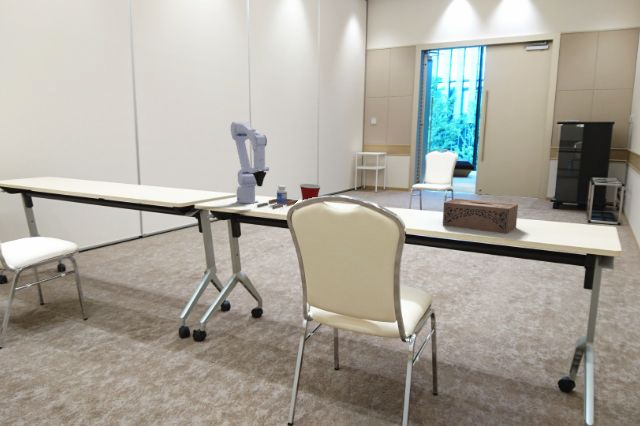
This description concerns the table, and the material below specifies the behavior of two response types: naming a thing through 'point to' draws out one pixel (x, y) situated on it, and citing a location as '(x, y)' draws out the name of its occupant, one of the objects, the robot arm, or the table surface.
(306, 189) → the plastic cup
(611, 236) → the table surface
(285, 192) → the pill bottle
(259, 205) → the checker cradle
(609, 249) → the table surface
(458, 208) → the tissue box cover
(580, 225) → the table surface
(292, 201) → the walnut trough
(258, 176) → the robot arm
